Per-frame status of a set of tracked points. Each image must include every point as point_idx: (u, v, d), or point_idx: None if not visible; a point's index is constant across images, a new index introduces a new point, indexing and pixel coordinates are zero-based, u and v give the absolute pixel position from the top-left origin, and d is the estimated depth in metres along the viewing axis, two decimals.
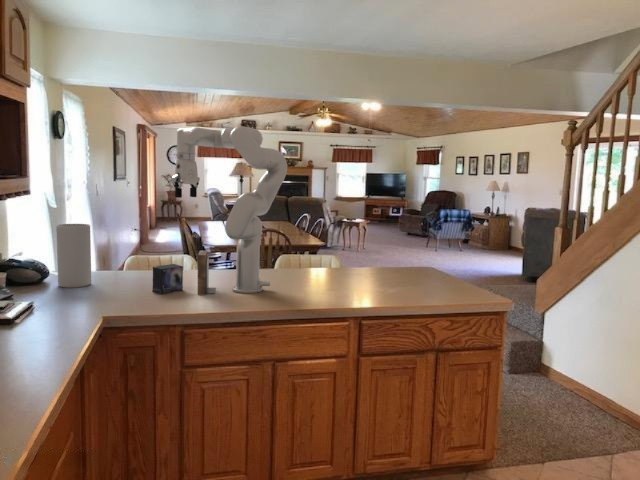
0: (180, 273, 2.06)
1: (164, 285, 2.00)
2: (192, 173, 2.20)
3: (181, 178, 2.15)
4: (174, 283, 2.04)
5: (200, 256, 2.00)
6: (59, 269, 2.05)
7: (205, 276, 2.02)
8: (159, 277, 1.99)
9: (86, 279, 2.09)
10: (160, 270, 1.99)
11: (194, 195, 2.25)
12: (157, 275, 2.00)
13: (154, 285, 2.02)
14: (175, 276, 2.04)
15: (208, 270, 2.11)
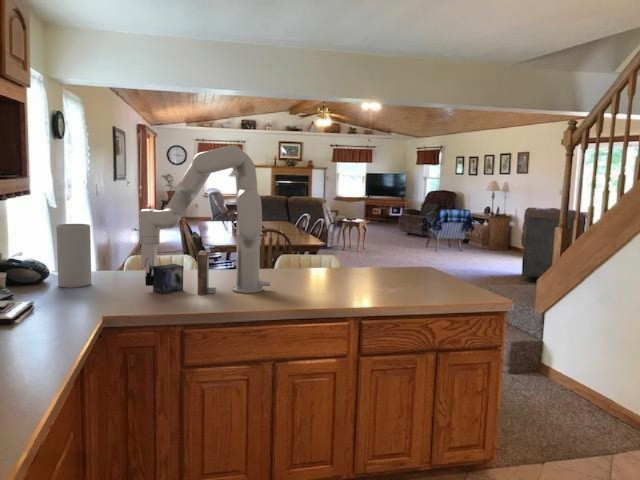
0: (180, 273, 2.06)
1: (165, 285, 2.00)
2: None
3: None
4: (174, 283, 2.04)
5: (200, 256, 2.00)
6: (59, 269, 2.05)
7: (205, 276, 2.02)
8: (160, 277, 1.99)
9: (86, 279, 2.09)
10: (161, 270, 1.99)
11: None
12: (157, 275, 2.00)
13: (154, 285, 2.02)
14: (175, 276, 2.04)
15: (208, 270, 2.11)
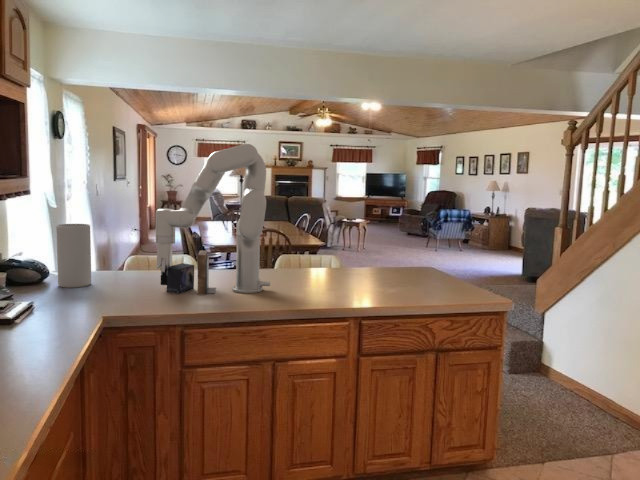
0: (192, 272, 2.08)
1: (181, 285, 2.02)
2: None
3: None
4: (188, 282, 2.06)
5: (200, 256, 2.00)
6: (59, 269, 2.05)
7: (205, 276, 2.02)
8: (177, 277, 2.00)
9: (86, 279, 2.09)
10: (178, 270, 2.00)
11: None
12: (173, 275, 2.01)
13: (169, 285, 2.02)
14: (189, 275, 2.06)
15: (208, 270, 2.11)
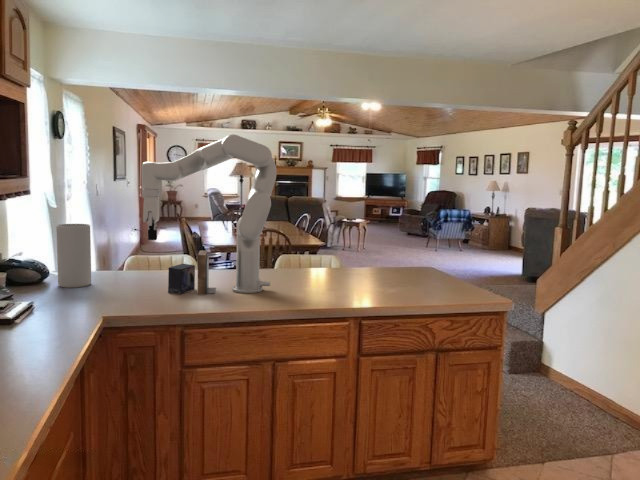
0: (193, 272, 2.09)
1: (183, 285, 2.02)
2: None
3: None
4: (189, 283, 2.06)
5: (200, 256, 2.00)
6: (59, 269, 2.05)
7: (205, 276, 2.02)
8: (178, 277, 2.00)
9: (86, 279, 2.09)
10: (179, 270, 2.00)
11: None
12: (175, 275, 2.01)
13: (171, 286, 2.02)
14: (190, 275, 2.06)
15: (208, 270, 2.11)
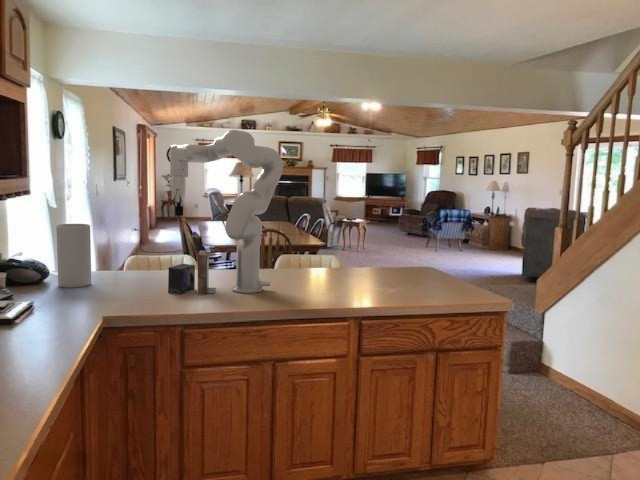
0: (193, 272, 2.09)
1: (183, 285, 2.02)
2: None
3: None
4: (189, 283, 2.06)
5: (200, 256, 2.00)
6: (59, 269, 2.05)
7: (205, 276, 2.02)
8: (178, 277, 2.00)
9: (86, 279, 2.09)
10: (179, 270, 2.00)
11: None
12: (175, 275, 2.01)
13: (171, 286, 2.02)
14: (190, 275, 2.06)
15: (208, 270, 2.11)
